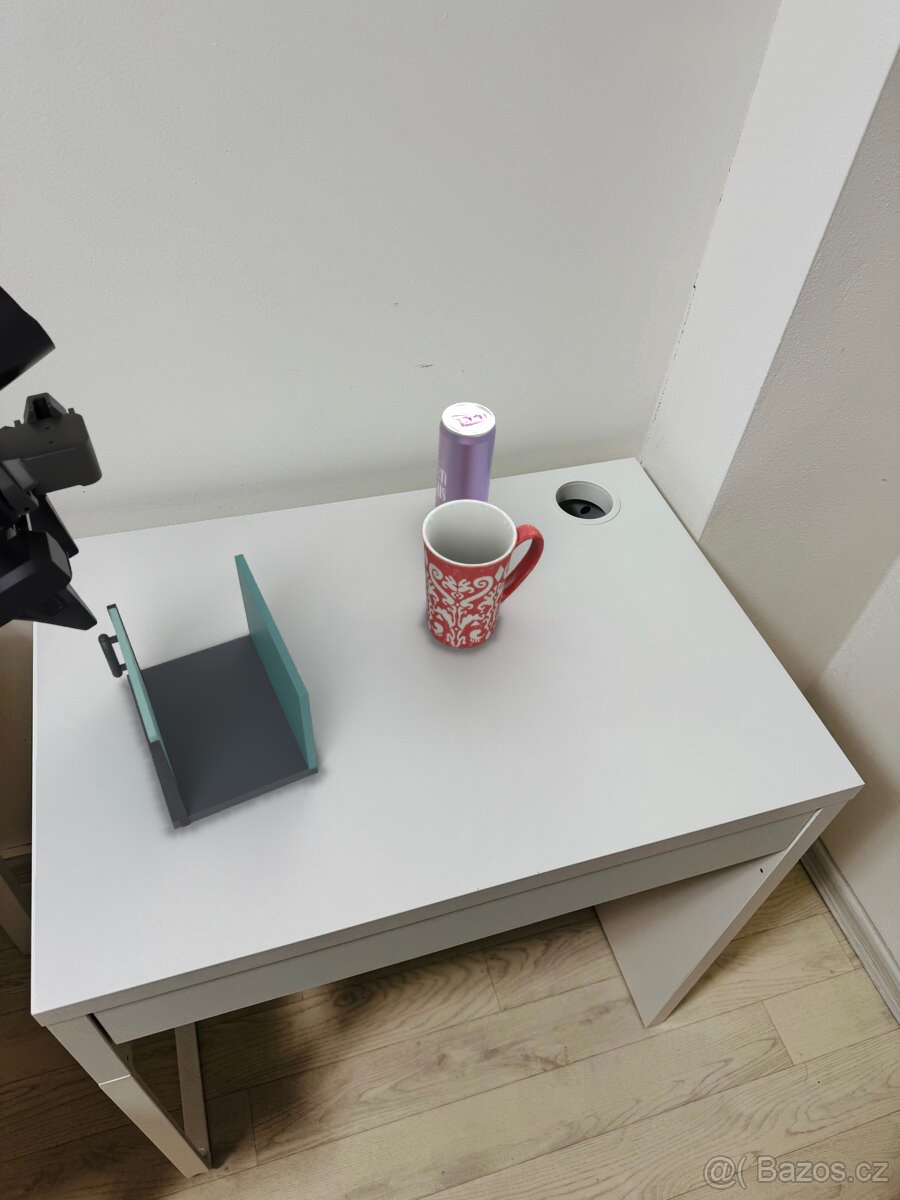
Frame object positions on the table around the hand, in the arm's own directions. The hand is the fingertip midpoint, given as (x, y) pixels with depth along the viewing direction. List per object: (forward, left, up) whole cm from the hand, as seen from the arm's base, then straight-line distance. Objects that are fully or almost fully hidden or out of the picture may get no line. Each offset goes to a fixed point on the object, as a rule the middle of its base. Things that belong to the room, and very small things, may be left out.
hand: (82, 588), depth 65 cm
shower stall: (+8, +1, -18) cm, 20 cm away
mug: (+29, +20, -18) cm, 40 cm away
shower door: (+3, -3, -17) cm, 17 cm away
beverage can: (+24, +34, -18) cm, 46 cm away
